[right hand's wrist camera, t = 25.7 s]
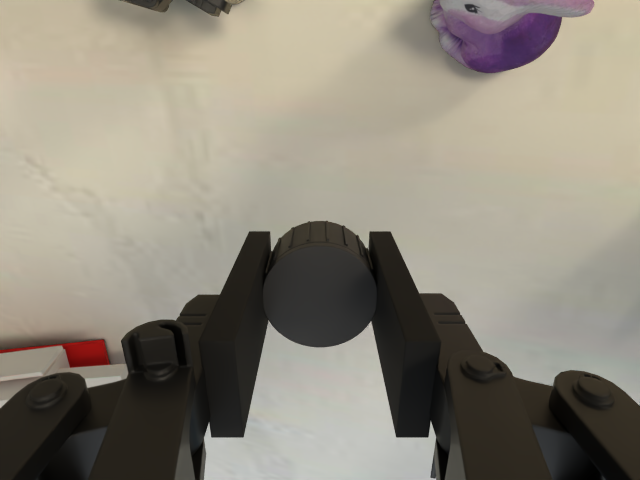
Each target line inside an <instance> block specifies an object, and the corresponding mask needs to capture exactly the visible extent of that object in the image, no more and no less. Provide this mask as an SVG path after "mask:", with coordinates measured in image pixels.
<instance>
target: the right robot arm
mask: <svg viewBox="0 0 640 480" xmlns="http://www.w3.org/2000/svg"><path fill="white" fill-rule="evenodd" d="M270 253H271V240H270V232H249V233H248V235H247V238H246V240H245V242H244V244H243V246H242V248H241V251H240V253H239V255H238V257H237V259H236V261H235V264H234V266H233V268H232V270H231V272H230V274H229V276H228V279H227V281H226V283H225V285H224V287H223V289H222V292H221V294H220V295H197V296H196V297H195V298H193V299H192V300H191V301H189V302H188V303H187V304H186V305H185V307H184V308H183V310H182V312H181V313H180V316H179V317H178V318H177V320H176V321H175V320H157V321H152V322H148V323H145V324H142V325H140V326H137V327H136V328H134V329H133V330H131V331H130V332H128V333H127V334H126V335H125V336H124V338H123V339H122V340H121V343H122V348H123V352H124V356H125V361H126V365H127V370H128V375H127V378H126V379H123V380H120V381H116V382H112V383H108V384H103V385H99V386H94V387H89V388H87V385H86V381H85V379H84V378H83V377H82V376H81V375H80V374H77V373H72V372H63V373H55V374H51V375H48V376H45V377H42V378H40V379H38V380H36V381H34V382H32V383H29V384H28V385H26V386H25V387H24V388H22V389H21V390H20V391H18V392H17V393H16V394H15V395H14V396H13V397H12V398H10V399H9V400H8V401H7V402H6V403H5V404H4V405H3V406H2V407H1V408H0V480H204V471H205V460H206V450H205V443H204V436H205V433H206V429H207V426H208V423H210V430H211V437H244V432H245V428H246V423H247V418H248V414H249V409H250V404H251V400H252V395H253V390H254V385H255V381H256V376H257V371H258V367H259V362H260V357H261V353H262V348H263V343H264V339H265V334H266V329H267V324H268V318H267V316H266V314H265V311H264V306H263V284H264V280H265V277H266V275H265V274H264V273H265V270H266V266H267V263H268V259H269V256H270ZM369 254H370V258H371V261H372V265H373V268H374V271H373V273H374V277H375V280H376V284H377V302H376V311H375V314H374V316H373V318H372V320H371V321H372V326H373V330H374V335H375V340H376V344H377V349H378V354H379V359H380V363H381V368H382V373H383V377H384V382H385V387H386V391H387V396H388V401H389V405H390V410H391V415H392V420H393V424H394V429H395V434H396V437H428V436H429V428H430V421H431V422H432V425H433V428H434V431H435V434H436V443H435V450H434V457H433V464H432V470H431V477H430V478H436V480H640V406H639V405H638V404H637V403H636V402H635V401H634V400H633V399H632V398H631V397H630V396H629V395H628V394H626V393H625V392H624V391H623V390H622V389H620V388H619V387H618V386H616V385H615V384H614V383H612V382H610V381H608V380H606V379H604V378H602V377H600V376H598V375H595V374H591V373H588V372H584V371H574V370H570V371H565V372H561V373H560V374H558V375H557V376H556V377H555V380H554V383H553V386H549V385H544V384H540V383H535V382H531V381H526V380H523V379H519V378H516V377H513V375H512V372H511V371H510V369H509V368H508V367H507V365H506V364H505V363H503V362H502V361H501V360H499V359H498V358H497V357H494V356H492V355H490V354H488V353H485V352H483V350H482V349H481V347H480V345H479V344H478V342H477V340H476V339H475V337H474V335H473V334H472V332H471V330H470V329H469V327H468V325H467V324H465V320H464V319H463V317H462V315H460V312H459V310H458V309H457V307H456V305H455V304H454V302H452V301H451V300H450V299H448V298H447V297H446V296H444V295H443V294H419V292H418V290H417V288H416V286H415V284H414V281H413V279H412V277H411V275H410V273H409V271H408V268H407V266H406V264H405V262H404V260H403V258H402V255H401V253H400V251H399V249H398V247H397V245H396V243H395V240H394V238H393V236H392V234H391V232H370V234H369Z"/></svg>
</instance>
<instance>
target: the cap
mask: <svg viewBox="0 0 640 480" xmlns="http://www.w3.org/2000/svg"><path fill="white" fill-rule="evenodd" d="M373 271H374V268H373V265H372V261H371V258H370V254H369V251H368V248H366V247H365V246H364V244H363V242H362V241H361V240H360V239H359V236H358V235H357V236H356V235H355V234H354V233H353V232H352V231H350V230H349V229H347V228H345V226H341V225H339V224H336V223H332V222H328V221H314V222H310V221H309V222H308V223H304V224H301V225H299V226H296V227H293V228H291V230H289V231H288V232H287V233H285V234H284V235H283V236H282V237H281V238H279V239H278V242H277V244H276V246H275V247H274V250H273V252H272V251H271V253H270V256H269V259H268V263H267V266H266V270H265V273H264V274H265V275H266V277H265V280H264V284H263V306H264V311H265V314H266V316H267V318H268V320H269V322H270V323H271V324H272V326H273V327H274V328H275V329H276V330H277V331H278V332H279V333H280V334H282V335H283V336H284V337H286V338H288V339H289V340H291V341H293V342H295V343H298V344H301V345H305V346H310V347H329V346H335V345H339V344H342V343H344V342H347V341H349V340H351V339H352V338H354V337H356V336H357V335H358V334H360V333H361V332H362V331H363V330H364V329H365V328H366V327H367V326H368V324H369V323H370V321H371V320H372V318H373V316H374V314H375V311H376V302H377V284H376V280H375V277H374V273H373Z"/></svg>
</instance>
